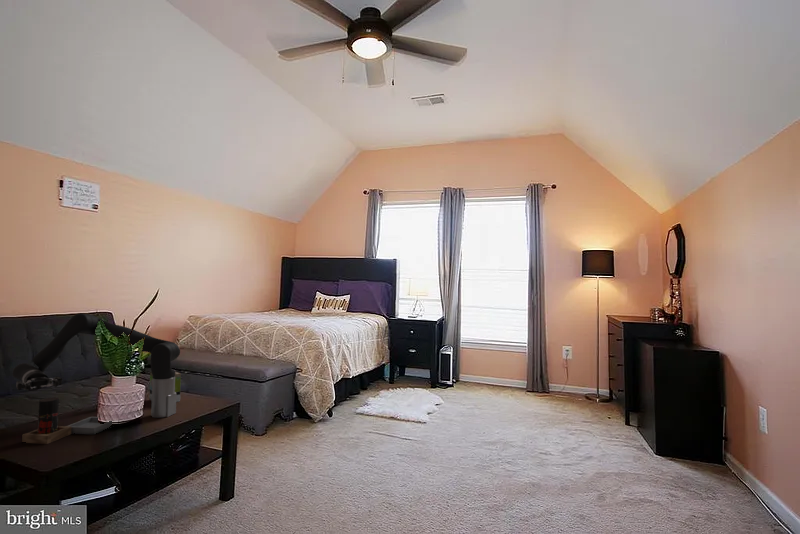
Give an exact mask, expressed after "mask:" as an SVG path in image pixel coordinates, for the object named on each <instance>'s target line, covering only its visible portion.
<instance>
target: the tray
mask: <svg viewBox="0 0 800 534" xmlns="http://www.w3.org/2000/svg"><path fill="white" fill-rule="evenodd" d="M98 417H99V416H88V417H86V418H84V419H81V420H79V421H76V422H74V423H71V424H68V425H67V426H70V427H72V428H71V434H74V433H75V434H76V435H77V434H79V435H96V433H97V434H99V433H101V432H103V430H104V431H106V430H108V429H110V428H111V427H110V426H111V425H112V421H109V422H106V423H104V424H100V423H98ZM109 427H110V428H109ZM107 428H108V429H107ZM105 429H106V430H105Z"/></svg>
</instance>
